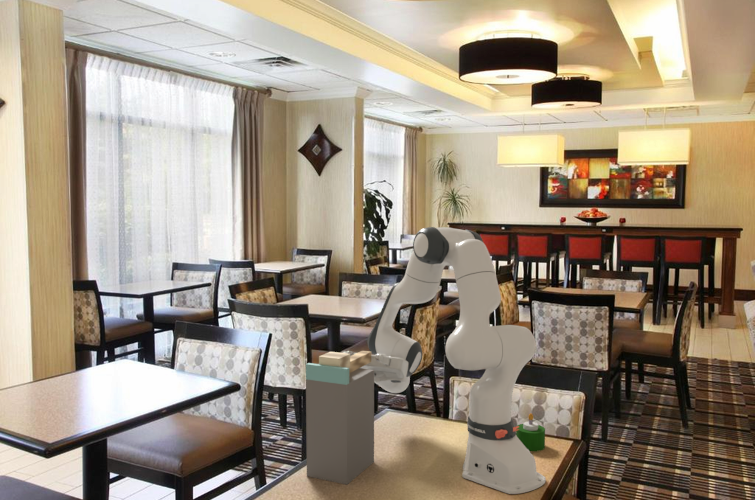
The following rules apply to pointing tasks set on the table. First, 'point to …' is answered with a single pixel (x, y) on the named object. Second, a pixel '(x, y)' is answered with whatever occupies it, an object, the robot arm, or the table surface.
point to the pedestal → (339, 422)
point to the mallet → (346, 360)
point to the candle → (531, 435)
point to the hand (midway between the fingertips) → (363, 355)
